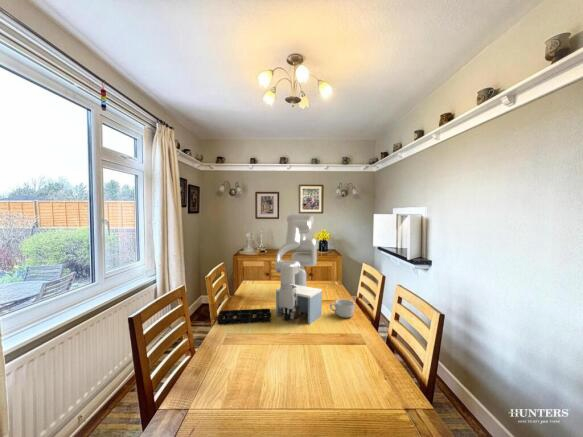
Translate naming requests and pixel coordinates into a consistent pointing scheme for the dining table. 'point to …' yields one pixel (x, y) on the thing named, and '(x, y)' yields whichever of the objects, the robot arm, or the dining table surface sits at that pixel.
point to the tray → (296, 315)
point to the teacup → (343, 308)
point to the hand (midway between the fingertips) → (287, 320)
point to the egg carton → (244, 316)
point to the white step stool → (306, 302)
